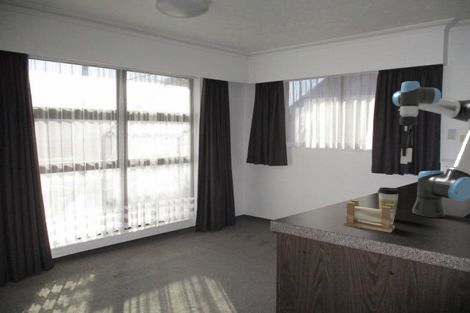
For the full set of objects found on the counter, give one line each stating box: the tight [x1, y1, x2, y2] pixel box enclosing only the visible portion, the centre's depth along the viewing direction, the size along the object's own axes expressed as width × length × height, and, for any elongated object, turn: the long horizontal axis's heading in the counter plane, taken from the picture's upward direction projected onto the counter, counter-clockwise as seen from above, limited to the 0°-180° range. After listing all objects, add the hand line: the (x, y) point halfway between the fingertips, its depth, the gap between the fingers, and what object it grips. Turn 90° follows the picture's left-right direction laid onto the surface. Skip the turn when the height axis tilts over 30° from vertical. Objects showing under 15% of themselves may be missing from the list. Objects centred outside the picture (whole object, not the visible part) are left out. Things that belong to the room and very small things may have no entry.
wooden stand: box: [343, 199, 395, 233], centre depth 164 cm, size 9×20×10 cm, turn 57°
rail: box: [344, 205, 395, 225], centre depth 164 cm, size 4×20×5 cm, turn 58°
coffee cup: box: [377, 186, 401, 218], centre depth 179 cm, size 10×10×15 cm
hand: (406, 162), depth 167 cm, fingers open, 13 cm apart
